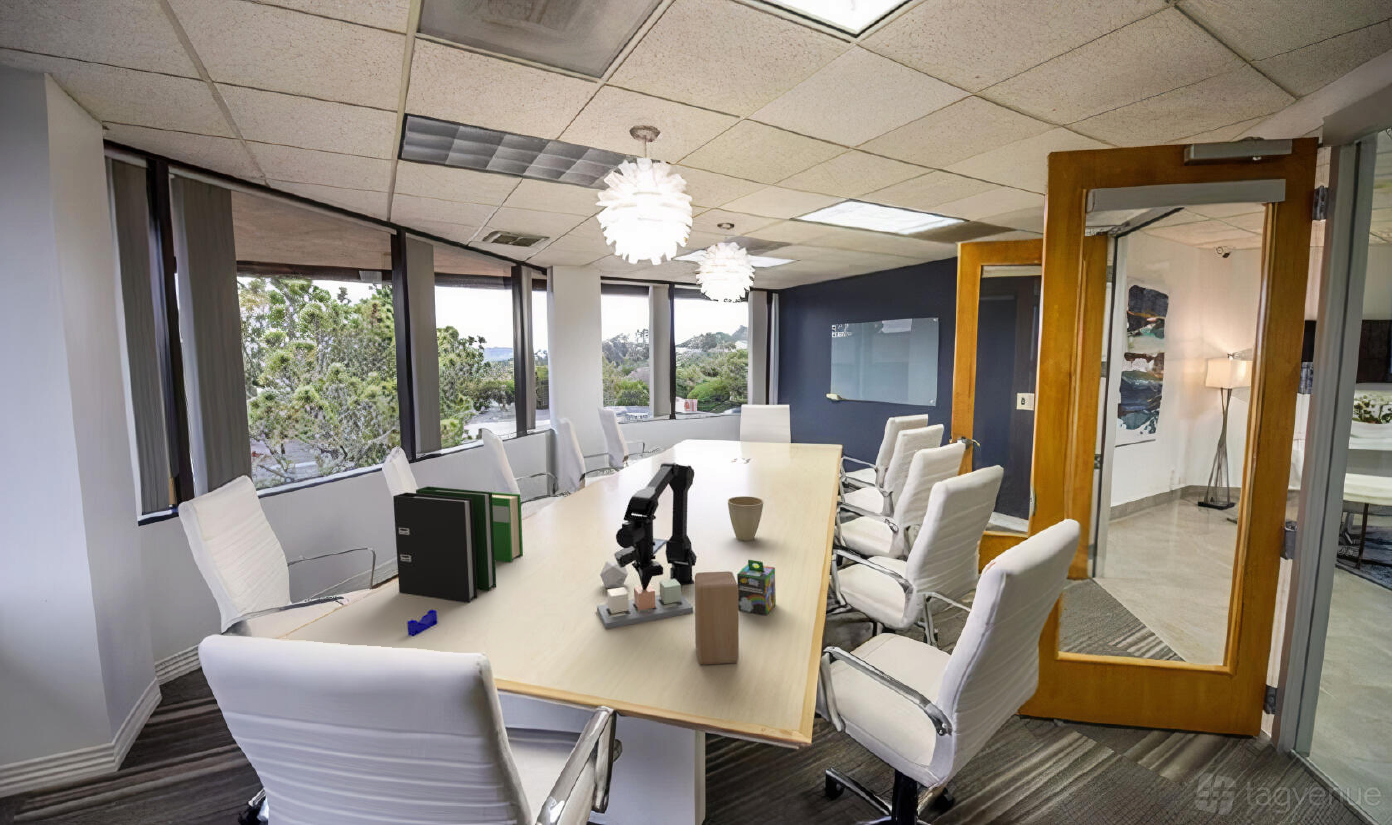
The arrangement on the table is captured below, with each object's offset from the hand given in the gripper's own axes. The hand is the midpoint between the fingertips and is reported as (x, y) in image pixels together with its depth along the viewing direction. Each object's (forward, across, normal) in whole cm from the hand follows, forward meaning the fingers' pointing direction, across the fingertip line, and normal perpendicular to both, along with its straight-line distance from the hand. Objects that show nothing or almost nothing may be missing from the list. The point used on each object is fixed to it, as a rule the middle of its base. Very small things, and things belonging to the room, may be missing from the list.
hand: (644, 588), depth 163 cm
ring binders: (+7, -40, -55) cm, 68 cm away
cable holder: (+7, -14, -61) cm, 63 cm away
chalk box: (+7, +10, +32) cm, 34 cm away
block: (+7, +30, +10) cm, 32 cm away
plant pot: (+7, -49, +58) cm, 76 cm away
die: (+7, -22, -4) cm, 23 cm away
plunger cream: (+4, 0, -8) cm, 9 cm away
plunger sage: (+4, 0, +8) cm, 9 cm away
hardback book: (+7, -67, -39) cm, 78 cm away
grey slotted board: (+7, 0, 0) cm, 7 cm away
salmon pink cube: (+5, 0, 0) cm, 5 cm away
